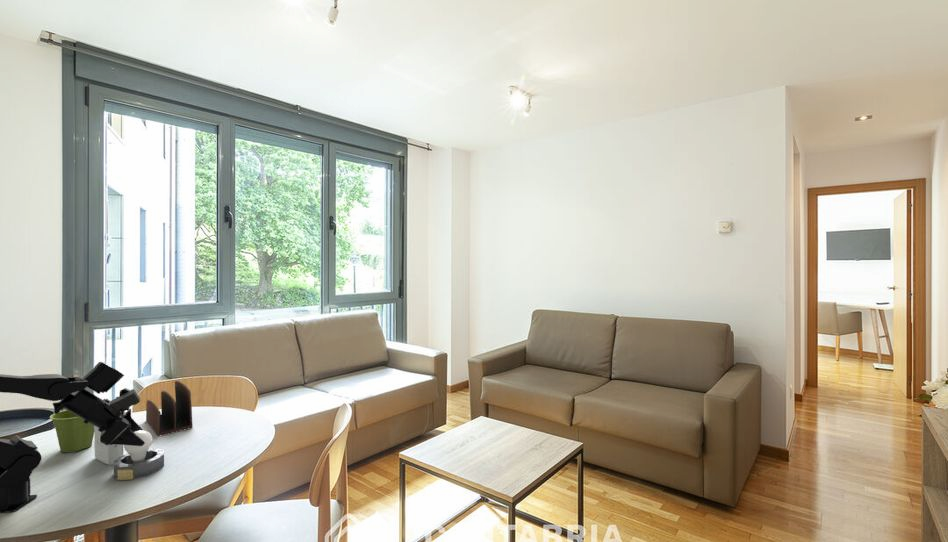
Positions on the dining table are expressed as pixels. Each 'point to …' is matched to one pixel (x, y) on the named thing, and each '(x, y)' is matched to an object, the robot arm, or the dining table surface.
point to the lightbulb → (140, 447)
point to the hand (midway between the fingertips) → (143, 438)
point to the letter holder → (171, 411)
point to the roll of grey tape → (138, 465)
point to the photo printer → (106, 449)
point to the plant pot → (72, 431)
